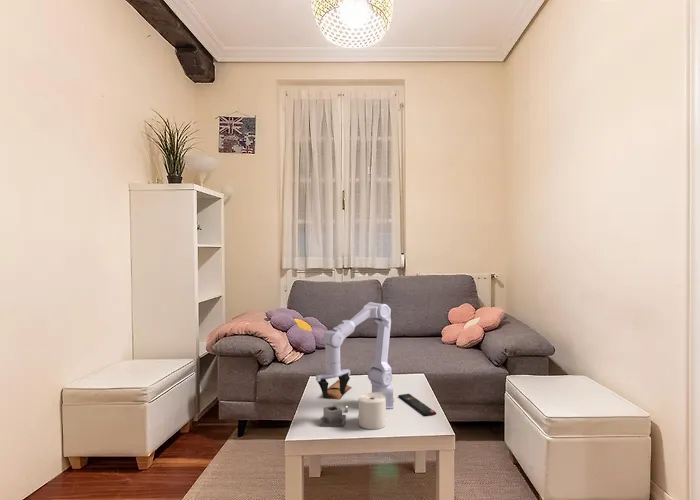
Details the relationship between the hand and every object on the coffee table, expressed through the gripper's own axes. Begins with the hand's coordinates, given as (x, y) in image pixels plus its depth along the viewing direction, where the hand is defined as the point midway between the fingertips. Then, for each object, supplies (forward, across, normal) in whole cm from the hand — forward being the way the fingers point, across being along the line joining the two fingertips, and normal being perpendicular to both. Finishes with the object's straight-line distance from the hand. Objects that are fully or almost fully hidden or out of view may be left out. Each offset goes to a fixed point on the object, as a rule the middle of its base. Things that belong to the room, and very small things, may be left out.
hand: (333, 395), depth 166 cm
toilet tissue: (+10, -11, +10) cm, 18 cm away
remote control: (+11, -37, +6) cm, 39 cm away
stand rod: (+10, -8, -5) cm, 14 cm away
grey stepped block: (+9, +1, 0) cm, 9 cm away
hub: (+10, +1, +1) cm, 10 cm away
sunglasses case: (+11, -17, -27) cm, 34 cm away
